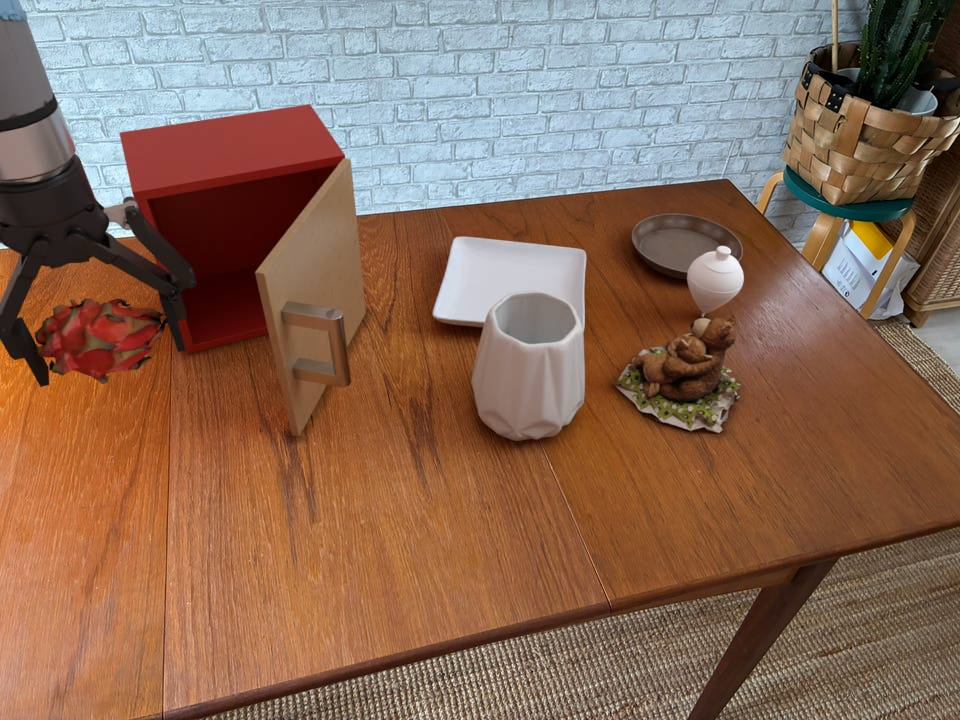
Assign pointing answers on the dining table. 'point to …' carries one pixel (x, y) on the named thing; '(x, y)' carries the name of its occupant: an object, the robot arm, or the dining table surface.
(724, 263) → the spinning top
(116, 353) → the dragon fruit
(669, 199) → the dining table surface
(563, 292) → the plate
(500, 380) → the vase
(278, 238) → the cabinet
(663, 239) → the plant saucer
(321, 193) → the cabinet door
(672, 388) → the bear figurine
